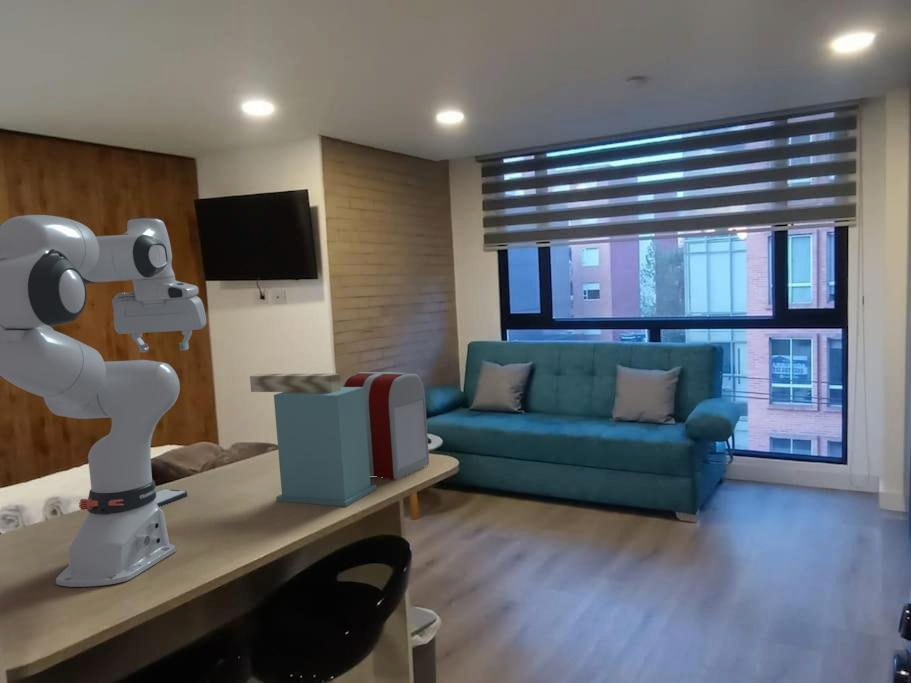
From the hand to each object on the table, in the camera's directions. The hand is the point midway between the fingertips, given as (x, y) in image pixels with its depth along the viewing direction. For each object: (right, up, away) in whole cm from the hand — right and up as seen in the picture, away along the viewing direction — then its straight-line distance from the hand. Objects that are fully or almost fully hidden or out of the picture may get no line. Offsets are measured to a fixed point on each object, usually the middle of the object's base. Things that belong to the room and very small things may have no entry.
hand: (164, 350), depth 162 cm
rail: (+27, -10, +14) cm, 32 cm away
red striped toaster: (+48, -34, +34) cm, 68 cm away
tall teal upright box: (+35, -36, +13) cm, 52 cm away
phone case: (-9, -39, +15) cm, 43 cm away
